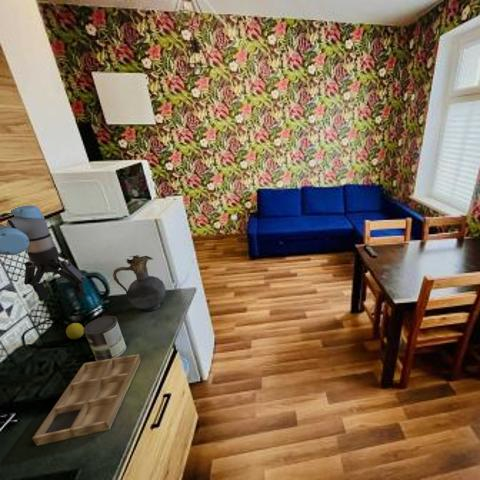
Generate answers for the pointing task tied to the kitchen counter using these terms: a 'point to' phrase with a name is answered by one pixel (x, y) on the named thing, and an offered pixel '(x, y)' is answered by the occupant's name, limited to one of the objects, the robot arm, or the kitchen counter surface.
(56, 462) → the kitchen counter surface
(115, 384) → the wooden compartment tray
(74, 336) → the lemon
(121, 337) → the coffee can
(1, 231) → the robot arm
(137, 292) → the pitcher
